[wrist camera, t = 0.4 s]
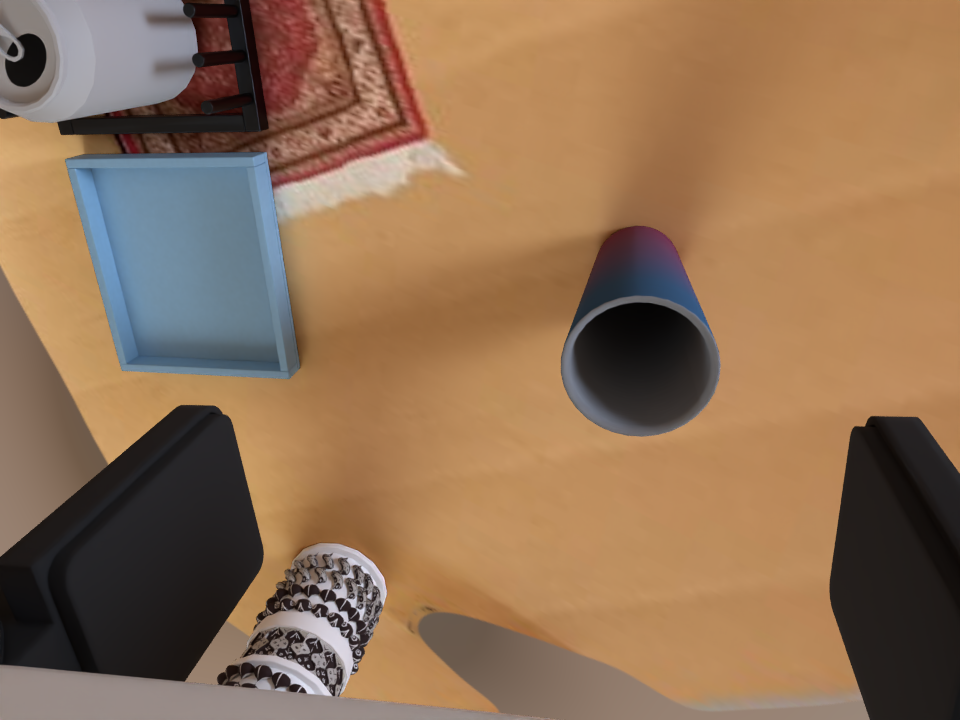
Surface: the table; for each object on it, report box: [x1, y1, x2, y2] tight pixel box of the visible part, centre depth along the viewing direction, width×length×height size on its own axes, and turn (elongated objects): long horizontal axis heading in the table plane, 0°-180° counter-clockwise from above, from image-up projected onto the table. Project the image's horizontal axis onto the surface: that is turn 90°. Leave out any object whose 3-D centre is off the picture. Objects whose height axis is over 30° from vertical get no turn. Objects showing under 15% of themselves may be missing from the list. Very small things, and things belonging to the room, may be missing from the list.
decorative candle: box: [217, 543, 387, 697], centre depth 50 cm, size 9×9×25 cm
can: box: [0, 0, 198, 123], centre depth 40 cm, size 8×8×12 cm
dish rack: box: [0, 0, 268, 135], centre depth 42 cm, size 11×14×6 cm
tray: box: [65, 152, 300, 379], centre depth 50 cm, size 15×13×2 cm
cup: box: [561, 226, 720, 436], centre depth 39 cm, size 7×7×15 cm
